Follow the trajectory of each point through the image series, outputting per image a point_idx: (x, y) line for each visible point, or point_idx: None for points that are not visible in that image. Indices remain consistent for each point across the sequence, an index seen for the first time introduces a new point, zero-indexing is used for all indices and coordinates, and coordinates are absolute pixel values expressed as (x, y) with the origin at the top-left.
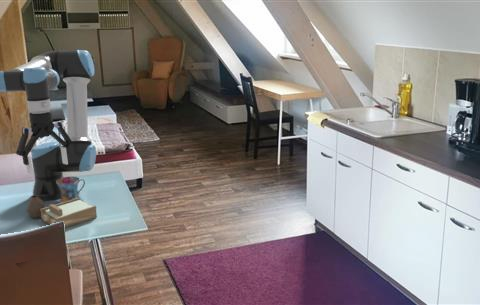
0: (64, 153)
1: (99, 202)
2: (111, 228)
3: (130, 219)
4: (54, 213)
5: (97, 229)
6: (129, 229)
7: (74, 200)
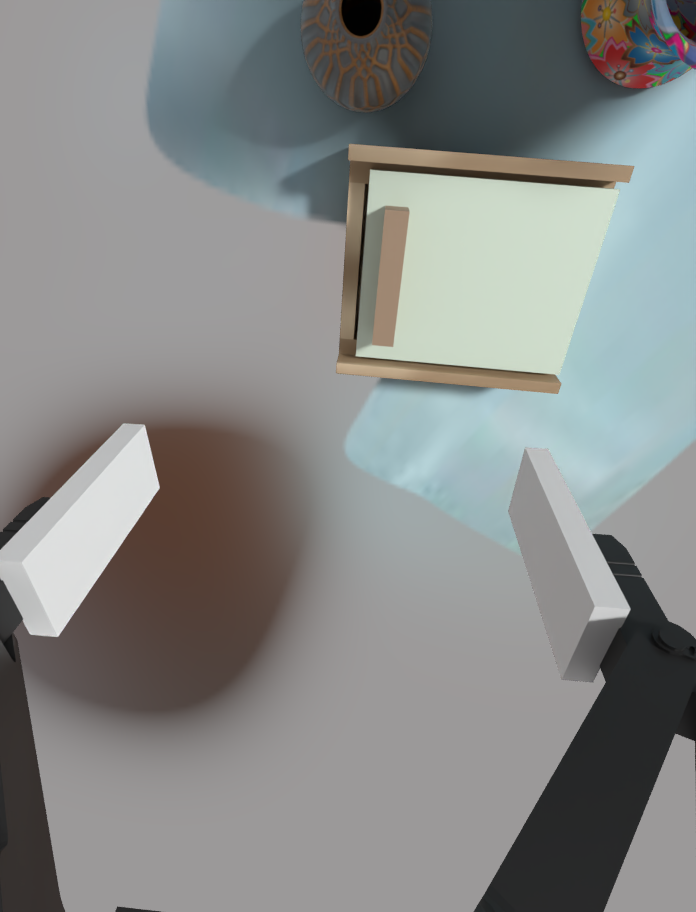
0: (541, 600)
1: None
2: (484, 496)
3: (590, 493)
4: (377, 275)
5: (448, 464)
6: (511, 546)
7: (588, 178)
